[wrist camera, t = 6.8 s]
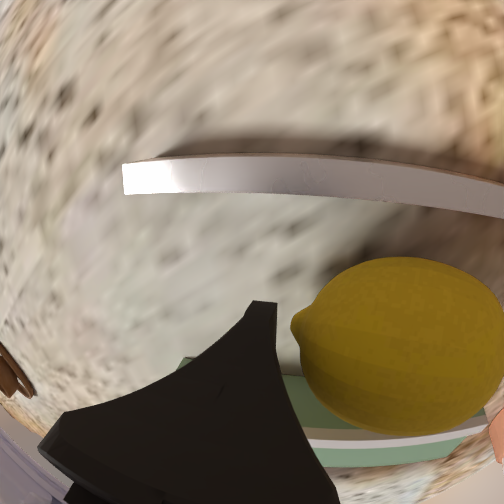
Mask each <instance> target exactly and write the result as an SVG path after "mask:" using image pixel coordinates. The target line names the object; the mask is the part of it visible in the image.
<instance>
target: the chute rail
mask: <svg viewBox="0 0 504 504" xmlns="http://www.w3.org/2000/svg"><path fill="white" fill-rule="evenodd" d="M122 169H123V180H124V189H125V194H137V193H171V192H237V193H273V194H295V195H313V196H328V197H342V198H354V199H365V200H376V201H386V202H395V203H404V204H412V205H420V206H428V207H435V208H442V209H449V210H456V211H462V212H468V213H474V214H480V215H486V216H491V217H496V218H502V219H504V184H503V183H500V182H496V181H492V180H488V179H484V178H480V177H476V176H471V175H467V174H462V173H458V172H453V171H448V170H443V169H437V168H432V167H426V166H420V165H413V164H407V163H400V162H392V161H384V160H376V159H367V158H357V157H345V156H332V155H316V154H294V153H221V154H199V155H182V156H169V157H158V158H151V159H145V160H141V161H136V162H131V163H127V164H122Z"/></svg>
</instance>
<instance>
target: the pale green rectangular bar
mask: <svg viewBox="0 0 504 504" xmlns="http://www.w3.org/2000/svg"><path fill="white" fill-rule="evenodd" d="M190 361H192V359H187V358H183V360H182V361H181V363H180V365H179V366H178V368H177V370H178V369H180V368H181V367H183V366H184V365H186V364H187V363H189V362H190ZM282 377H283V381H284V384H285V387H286V390H287V393H288V396H289V398H290V401H291V404H292V406H293V409H294V411H295V413H296V416H297V418H298V420H299V422H300V424H301V427H302V429H303V431H304V433H305V435H306V437H307V439H308V441H309V443H310V445H311V447H312V449H313V451H314V452H315V454H316V456H317V458H318V460H319V461H320V463H321V465H322V466H323V467H374V466H388V465H398V464H407V463H415V462H421V461H428V460H433V459H439V458H444V457H447V456H448V455H449V454H450V453H451V452H452V451H453V450H454V449H455V448H456V447H457V446H458V445H459V444H460V443H461V442H462V441H463V440H464V439H465V438H466V437H467V436H469V435H473V434H477V433H481V432H482V430H483V429H484V428H485V427H486V426H487V425H488V424H489V423H488V420H487V417H486V414H485V411H484V408H483V407H482V408H481V409H480V410H479V411H478V412H477V413H476V414H475V415H473V416H472V417H471V418H469V419H468V420H466V421H465V422H464V423H462V424H461V425H459V426H457V427H454V428H452V429H450V430H447V431H444V432H440V433H436V434H430V435H422V436H394V435H385V434H380V433H375V432H371V431H368V430H364V429H362V428H359V427H357V426H354V425H352V424H350V423H348V422H346V421H344V420H342V419H340V418H339V417H337V416H336V415H334V414H333V413H331V412H330V411H329V410H328V409H326V408H325V407H324V406H323V405H322V404H321V403H320V401H319V400H318V399H317V398H316V397H315V395H314V394H313V392H312V391H311V389H310V387H309V385H308V383H307V381H306V379H305V377H303V376H292V375H283V374H282Z"/></svg>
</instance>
